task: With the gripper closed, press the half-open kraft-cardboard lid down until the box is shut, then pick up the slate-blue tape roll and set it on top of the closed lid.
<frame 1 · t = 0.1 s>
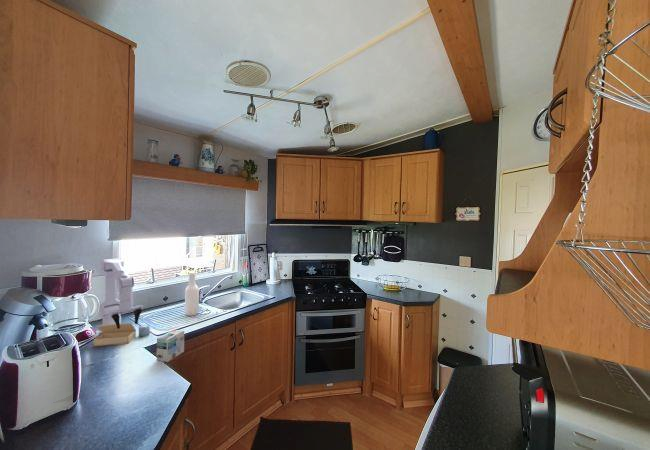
hand: (127, 326, 134), 11 cm above the worktop, tool pointing down, fingers open, 7 cm apart
box: (115, 341, 139), on the worktop
alcohol: (191, 314, 181), on the worktop
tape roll: (144, 334, 147), on the worktop
lid: (117, 328, 140), point 7 cm above the worktop, hinge at 50.0°
light bulb box: (170, 356, 124), on the worktop
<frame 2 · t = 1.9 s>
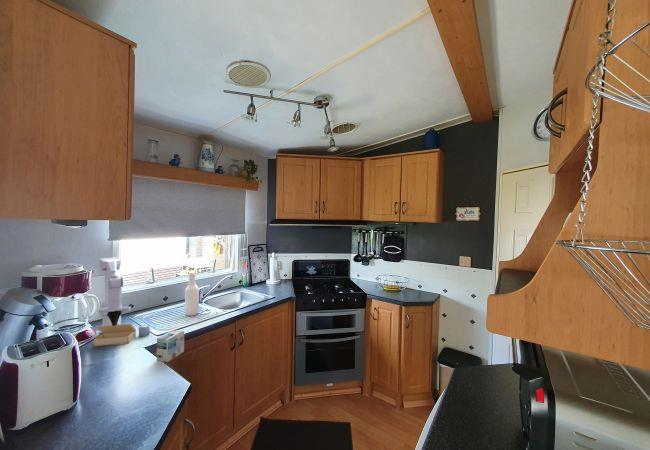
hand: (114, 325, 138), 9 cm above the worktop, tool pointing down, fingers closed, pressing on lid
lid: (116, 328, 140), point 7 cm above the worktop, hinge at 46.7°, touching gripper
everything else where it was.
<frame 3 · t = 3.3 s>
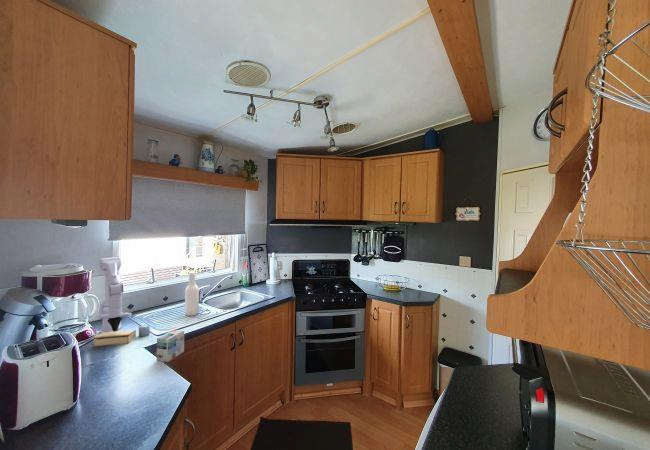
hand: (115, 330, 139), 6 cm above the worktop, tool pointing down, fingers closed
lid: (115, 333, 139), point 4 cm above the worktop, hinge at 6.6°
everything else where it was.
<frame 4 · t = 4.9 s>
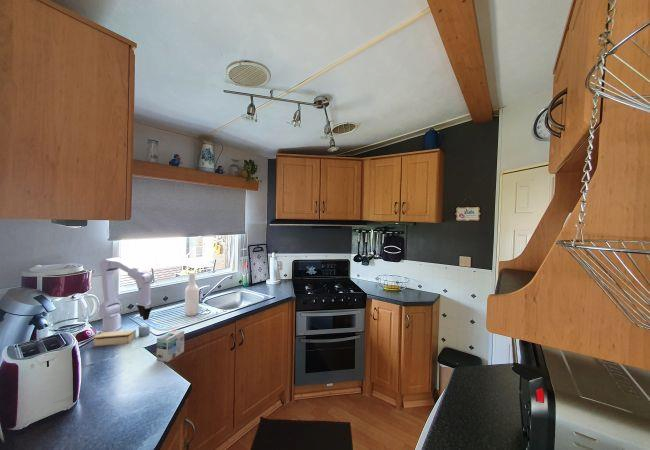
hand: (144, 317, 147), 10 cm above the worktop, tool pointing down, fingers open, 7 cm apart
lid: (115, 333, 139), point 4 cm above the worktop, hinge at 6.5°, touching box
everything else where it was.
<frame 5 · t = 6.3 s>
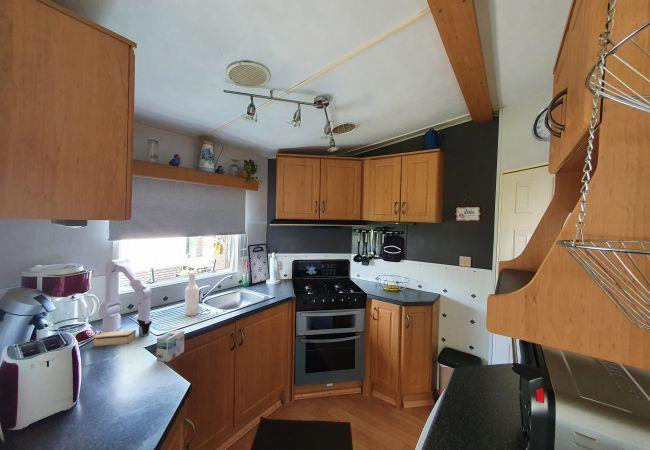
hand: (144, 332, 147), 1 cm above the worktop, tool pointing down, fingers closed on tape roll, 5 cm apart
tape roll: (144, 334, 147), on the worktop, touching gripper
everything else where it was.
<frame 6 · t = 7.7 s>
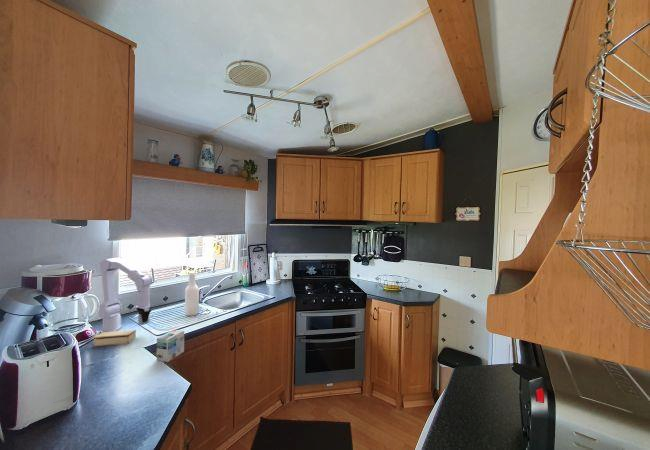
hand: (143, 320, 147), 8 cm above the worktop, tool pointing down, fingers closed on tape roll, 5 cm apart
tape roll: (143, 323, 147), point 7 cm above the worktop, touching gripper
everything else where it was.
when the fingers open (6 cm above the worktop, at t = 9.3 s): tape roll stays where it is, resting on lid.
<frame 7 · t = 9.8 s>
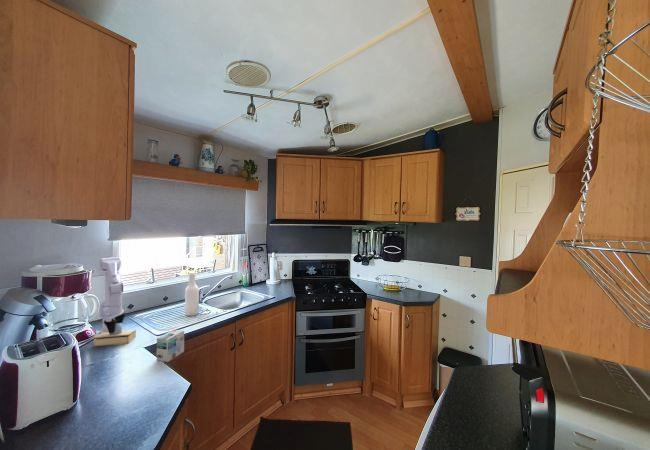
hand: (115, 329, 139), 6 cm above the worktop, tool pointing down, fingers open, 7 cm apart
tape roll: (115, 333, 139), point 4 cm above the worktop, tilted 6°, touching lid
lid: (115, 333, 139), point 4 cm above the worktop, hinge at 6.5°, touching box, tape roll
everything else where it was.
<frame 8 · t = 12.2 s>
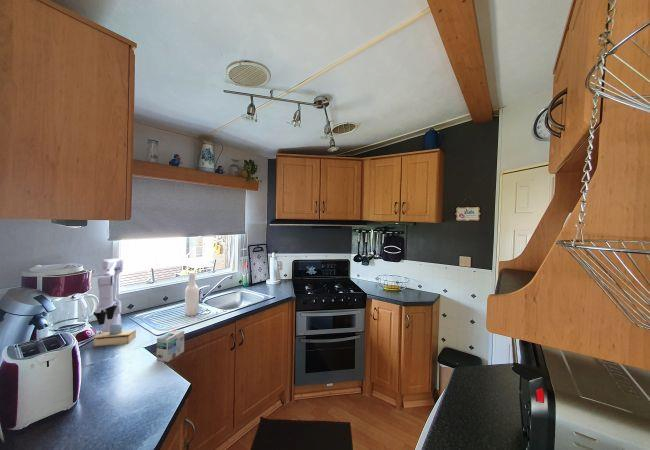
hand: (105, 321, 140), 10 cm above the worktop, tool pointing down, fingers open, 7 cm apart
lid: (115, 333, 139), point 4 cm above the worktop, hinge at 6.5°, touching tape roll
everything else where it was.
at the end: lid at +6° (first picture: +50°); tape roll inside the target area on the box (0.1 cm from its centre), point 4.5 cm above the box's base; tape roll tilted 6° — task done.
